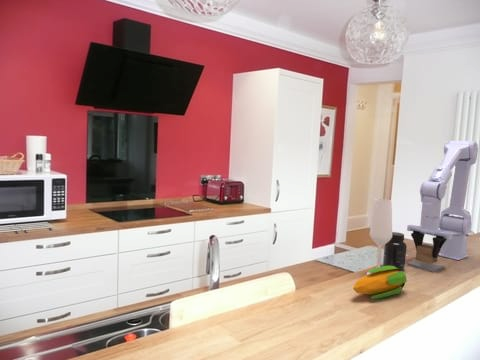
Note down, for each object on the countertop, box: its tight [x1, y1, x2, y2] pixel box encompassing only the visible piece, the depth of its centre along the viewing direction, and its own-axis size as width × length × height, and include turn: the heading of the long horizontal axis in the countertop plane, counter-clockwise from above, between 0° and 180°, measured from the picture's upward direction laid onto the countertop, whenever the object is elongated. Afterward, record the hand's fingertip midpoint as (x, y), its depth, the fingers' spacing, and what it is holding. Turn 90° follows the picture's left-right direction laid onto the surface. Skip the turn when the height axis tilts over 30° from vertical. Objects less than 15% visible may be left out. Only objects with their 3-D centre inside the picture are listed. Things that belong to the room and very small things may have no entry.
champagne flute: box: [366, 198, 393, 275], centre depth 119 cm, size 7×7×24 cm
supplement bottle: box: [382, 231, 407, 272], centre depth 128 cm, size 7×7×12 cm
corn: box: [353, 265, 408, 300], centre depth 104 cm, size 7×8×20 cm
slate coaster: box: [406, 259, 446, 273], centre depth 131 cm, size 8×9×1 cm
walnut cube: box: [415, 243, 439, 264], centre depth 131 cm, size 5×5×5 cm
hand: (426, 255), depth 131 cm, fingers closed on walnut cube, 5 cm apart
